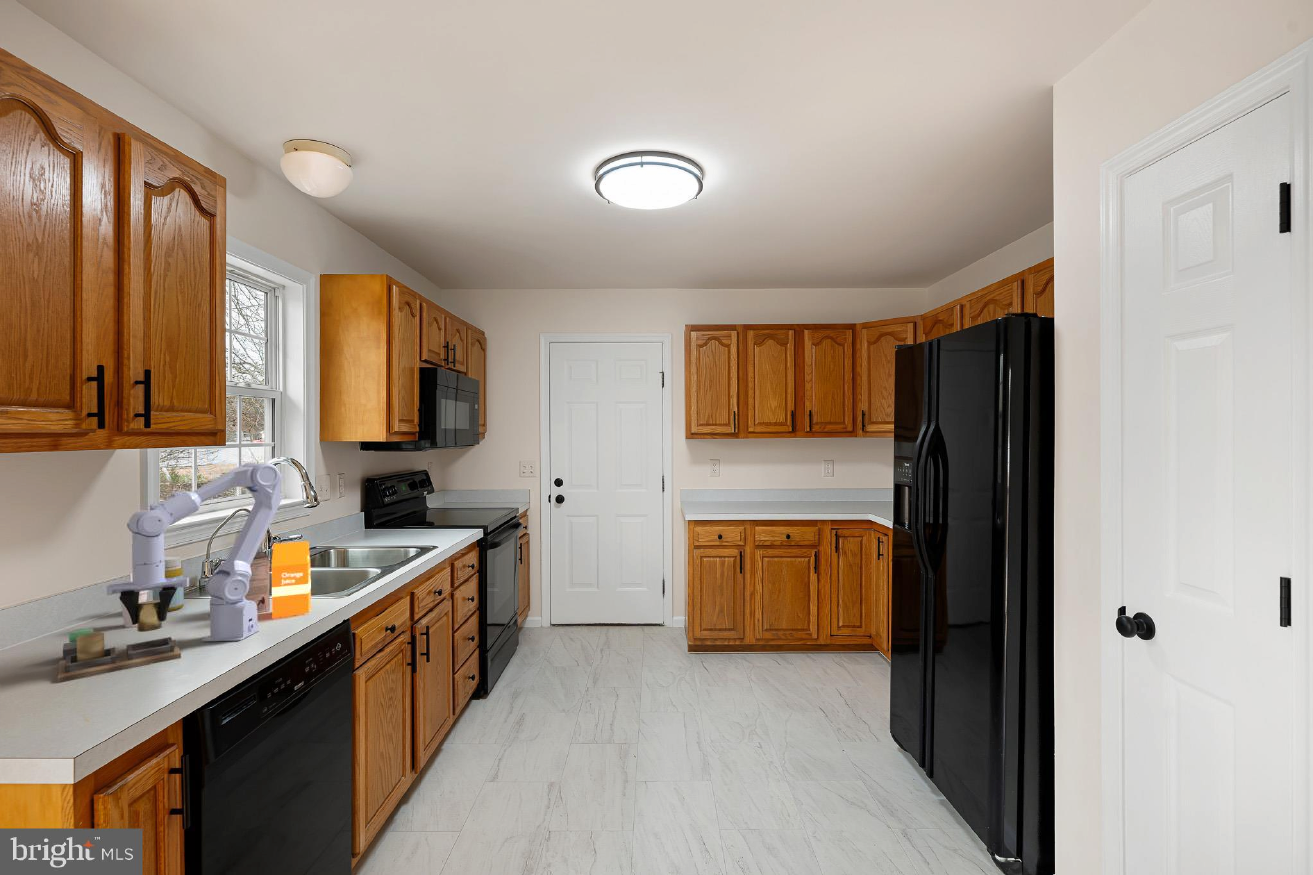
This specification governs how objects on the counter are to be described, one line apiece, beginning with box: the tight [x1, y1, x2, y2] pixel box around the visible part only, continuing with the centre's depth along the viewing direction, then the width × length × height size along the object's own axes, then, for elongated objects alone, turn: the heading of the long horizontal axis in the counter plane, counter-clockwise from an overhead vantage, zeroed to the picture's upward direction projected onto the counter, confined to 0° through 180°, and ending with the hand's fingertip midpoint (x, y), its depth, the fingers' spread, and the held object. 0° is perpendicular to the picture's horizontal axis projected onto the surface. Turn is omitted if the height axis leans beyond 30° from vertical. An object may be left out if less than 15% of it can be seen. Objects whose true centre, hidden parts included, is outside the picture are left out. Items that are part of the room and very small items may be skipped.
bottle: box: [152, 555, 185, 612], centre depth 179 cm, size 7×7×15 cm
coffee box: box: [245, 551, 271, 614], centre depth 177 cm, size 9×6×16 cm
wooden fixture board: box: [57, 631, 182, 683], centre depth 137 cm, size 20×13×7 cm, turn 133°
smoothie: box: [117, 572, 150, 628], centre depth 164 cm, size 6×6×14 cm
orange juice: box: [271, 540, 312, 619], centre depth 174 cm, size 8×9×20 cm
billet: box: [136, 599, 163, 633], centre depth 141 cm, size 4×4×6 cm
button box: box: [62, 642, 77, 661], centre depth 141 cm, size 6×6×3 cm
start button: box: [68, 628, 94, 643], centre depth 141 cm, size 4×4×2 cm
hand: (149, 621), depth 141 cm, fingers closed on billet, 4 cm apart
